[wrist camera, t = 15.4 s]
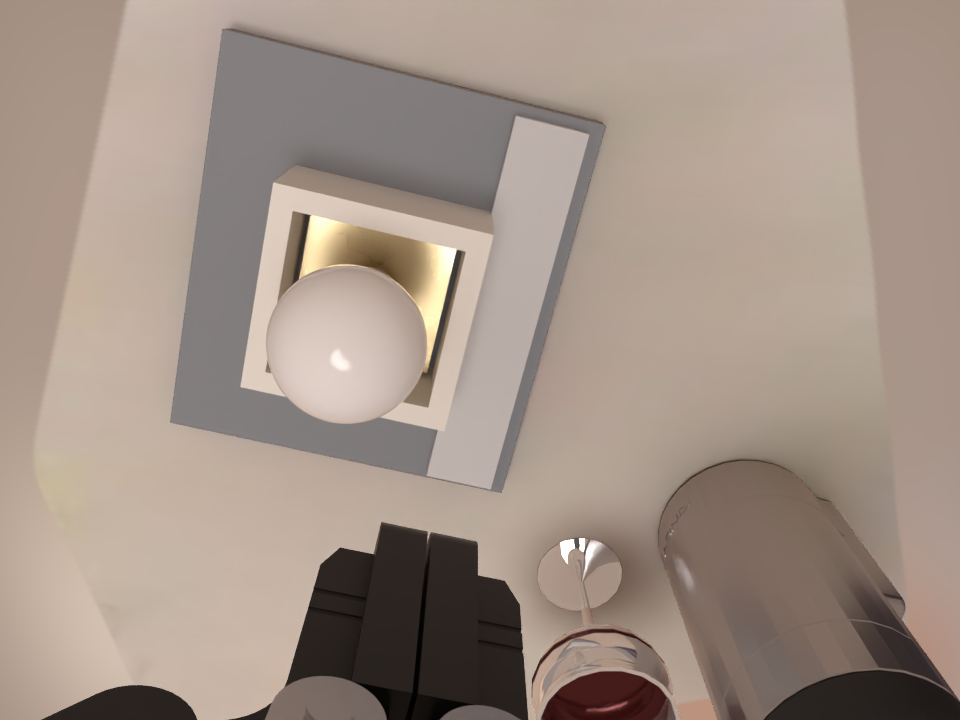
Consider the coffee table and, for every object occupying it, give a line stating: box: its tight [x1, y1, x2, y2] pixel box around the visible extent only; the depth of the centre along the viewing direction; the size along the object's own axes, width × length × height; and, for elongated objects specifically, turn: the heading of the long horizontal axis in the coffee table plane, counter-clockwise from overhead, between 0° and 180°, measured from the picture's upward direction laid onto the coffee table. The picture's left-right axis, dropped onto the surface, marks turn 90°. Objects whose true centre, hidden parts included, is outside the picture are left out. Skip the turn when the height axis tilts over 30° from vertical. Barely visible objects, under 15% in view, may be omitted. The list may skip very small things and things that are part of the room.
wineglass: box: [532, 539, 680, 720], centre depth 47 cm, size 7×7×12 cm
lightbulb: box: [266, 264, 427, 424], centre depth 38 cm, size 6×6×11 cm
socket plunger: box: [299, 215, 456, 373], centre depth 44 cm, size 7×7×2 cm
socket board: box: [170, 29, 606, 493], centre depth 43 cm, size 18×20×6 cm
